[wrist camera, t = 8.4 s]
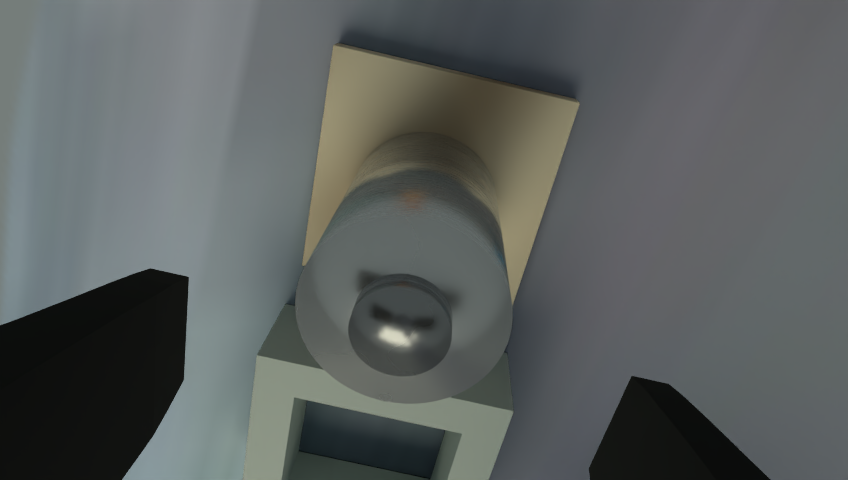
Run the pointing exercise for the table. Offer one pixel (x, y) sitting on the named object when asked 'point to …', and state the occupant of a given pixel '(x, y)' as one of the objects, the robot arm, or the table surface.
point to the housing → (306, 380)
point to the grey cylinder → (410, 275)
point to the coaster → (449, 115)
